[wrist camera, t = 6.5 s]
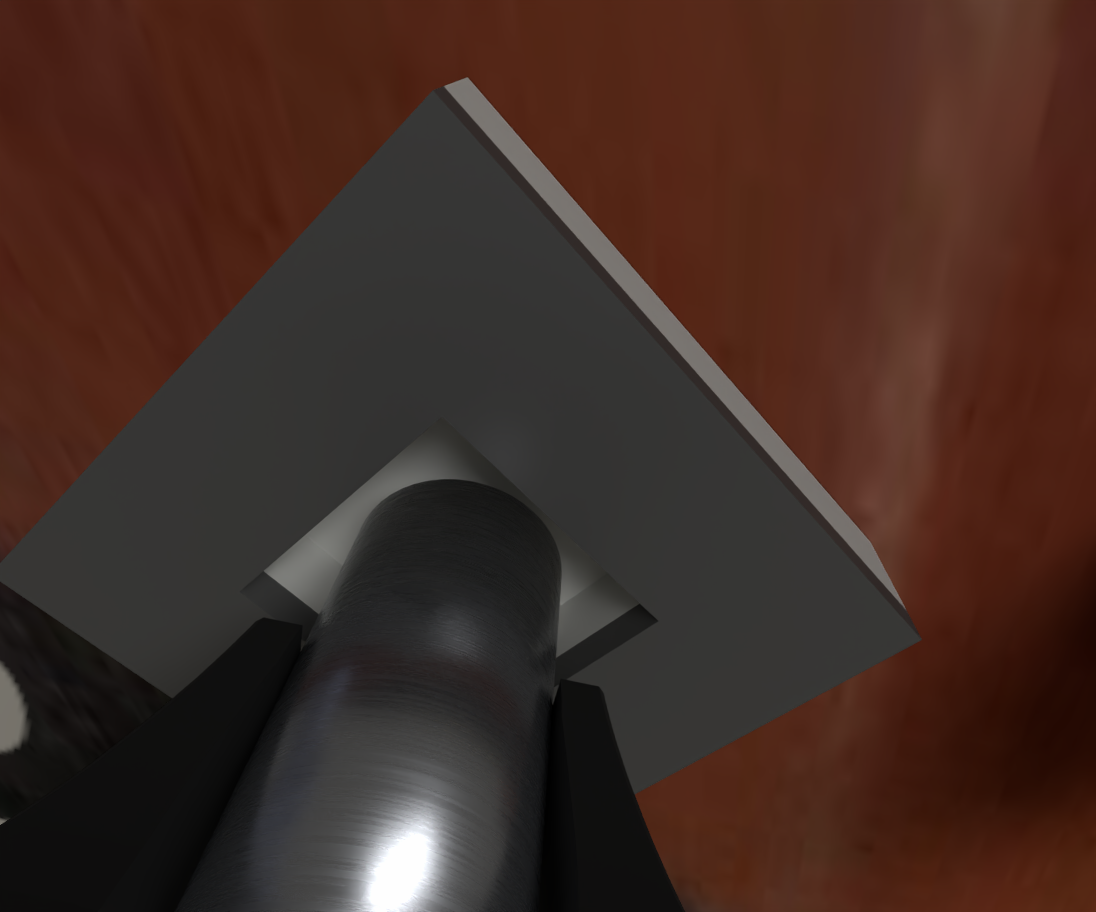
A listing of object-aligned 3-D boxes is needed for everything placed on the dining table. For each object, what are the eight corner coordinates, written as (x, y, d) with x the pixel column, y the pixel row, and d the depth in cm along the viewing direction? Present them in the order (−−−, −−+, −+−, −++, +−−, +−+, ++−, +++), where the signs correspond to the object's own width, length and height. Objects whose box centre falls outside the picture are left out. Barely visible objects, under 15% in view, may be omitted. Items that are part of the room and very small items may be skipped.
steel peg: (312, 559, 15) (63, 1014, 8) (456, 438, 14) (304, 864, 7) (460, 678, 16) (354, 1161, 9) (604, 579, 15) (609, 1063, 8)
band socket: (84, 490, 17) (-10, 574, 14) (467, 77, 13) (432, 90, 10) (473, 781, 21) (455, 890, 18) (870, 542, 16) (921, 640, 14)
